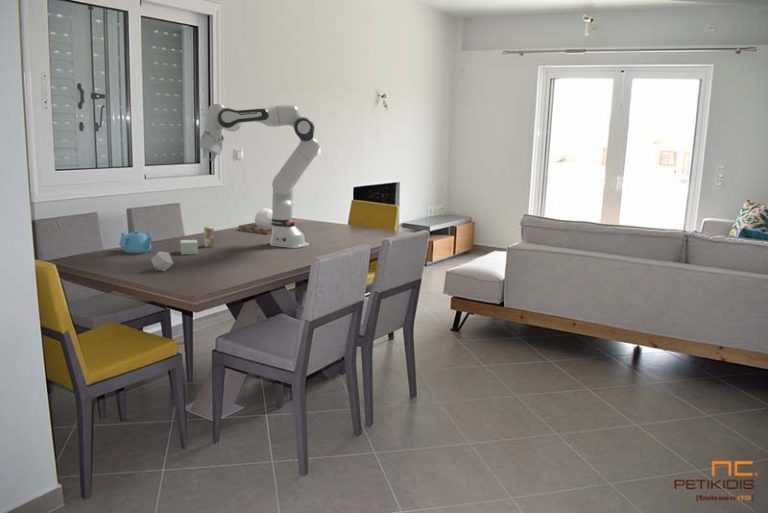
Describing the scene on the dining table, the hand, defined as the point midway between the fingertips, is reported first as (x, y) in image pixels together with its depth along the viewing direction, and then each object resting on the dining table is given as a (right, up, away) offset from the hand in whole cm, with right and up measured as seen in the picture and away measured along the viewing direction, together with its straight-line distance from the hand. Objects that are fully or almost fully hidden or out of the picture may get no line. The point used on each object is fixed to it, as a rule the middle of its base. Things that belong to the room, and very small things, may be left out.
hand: (208, 159), depth 348 cm
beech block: (0, -46, +1) cm, 46 cm away
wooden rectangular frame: (+20, -35, +59) cm, 71 cm away
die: (-5, -58, -57) cm, 82 cm away
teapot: (-31, -50, -19) cm, 62 cm away
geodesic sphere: (+20, -36, +59) cm, 72 cm away
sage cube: (-5, -50, -17) cm, 53 cm away
